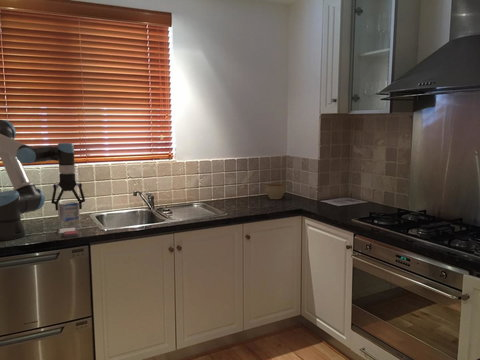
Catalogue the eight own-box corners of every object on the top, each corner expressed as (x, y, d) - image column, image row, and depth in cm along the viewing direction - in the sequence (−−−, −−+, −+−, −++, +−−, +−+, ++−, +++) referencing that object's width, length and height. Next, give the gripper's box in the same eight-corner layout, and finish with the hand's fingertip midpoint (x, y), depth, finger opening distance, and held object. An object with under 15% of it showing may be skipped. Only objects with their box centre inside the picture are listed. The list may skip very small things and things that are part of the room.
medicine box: (64, 221, 213) (64, 205, 212) (59, 220, 215) (59, 203, 214) (78, 218, 219) (77, 202, 218) (73, 217, 222) (72, 201, 221)
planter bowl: (286, 196, 325) (286, 183, 323) (285, 200, 309) (285, 186, 307) (265, 196, 327) (265, 182, 325) (264, 200, 311) (264, 185, 310)
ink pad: (63, 237, 214) (63, 234, 214) (64, 234, 220) (64, 231, 220) (78, 236, 216) (78, 233, 216) (78, 232, 223) (78, 230, 223)
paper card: (57, 234, 220) (57, 233, 220) (58, 228, 232) (58, 227, 232) (77, 232, 223) (76, 231, 223) (77, 227, 235) (77, 226, 235)
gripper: (43, 174, 207) (45, 218, 210) (89, 173, 214) (91, 216, 217) (44, 172, 213) (47, 215, 217) (89, 171, 221) (90, 212, 224)
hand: (69, 215), depth 217 cm, fingers closed on medicine box, 9 cm apart
